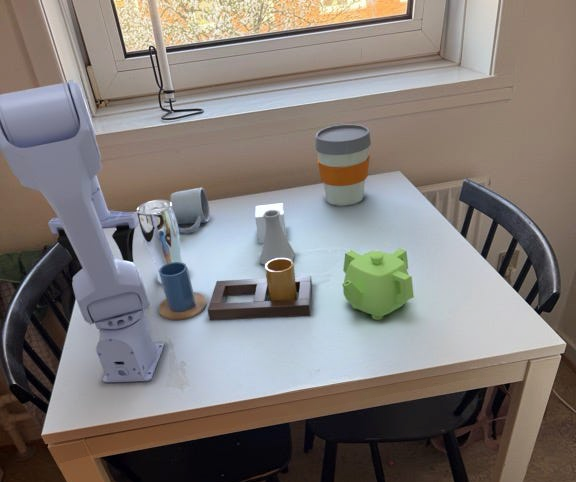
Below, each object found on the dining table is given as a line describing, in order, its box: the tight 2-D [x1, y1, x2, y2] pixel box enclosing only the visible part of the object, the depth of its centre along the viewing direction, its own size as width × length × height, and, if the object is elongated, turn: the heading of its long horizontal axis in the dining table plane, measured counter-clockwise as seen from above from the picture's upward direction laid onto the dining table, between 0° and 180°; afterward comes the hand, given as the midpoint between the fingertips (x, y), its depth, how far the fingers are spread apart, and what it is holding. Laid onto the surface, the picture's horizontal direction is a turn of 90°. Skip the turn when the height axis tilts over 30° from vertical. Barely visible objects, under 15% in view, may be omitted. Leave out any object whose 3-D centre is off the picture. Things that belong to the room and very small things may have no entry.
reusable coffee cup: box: [314, 123, 372, 207], centre depth 128 cm, size 13×13×15 cm
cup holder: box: [207, 275, 313, 321], centre depth 100 cm, size 10×18×2 cm, turn 86°
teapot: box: [341, 248, 415, 321], centre depth 93 cm, size 12×12×10 cm
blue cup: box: [159, 261, 196, 312], centre depth 100 cm, size 5×5×8 cm
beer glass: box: [135, 199, 184, 285], centre depth 107 cm, size 7×7×15 cm
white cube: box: [254, 202, 287, 244], centre depth 119 cm, size 6×6×6 cm
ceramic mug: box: [168, 187, 210, 235], centre depth 128 cm, size 11×8×8 cm
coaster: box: [158, 291, 208, 321], centre depth 103 cm, size 9×9×1 cm
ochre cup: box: [264, 258, 298, 301], centre depth 98 cm, size 5×5×8 cm
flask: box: [259, 210, 296, 266], centre depth 109 cm, size 7×7×10 cm
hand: (109, 267), depth 96 cm, fingers open, 7 cm apart
